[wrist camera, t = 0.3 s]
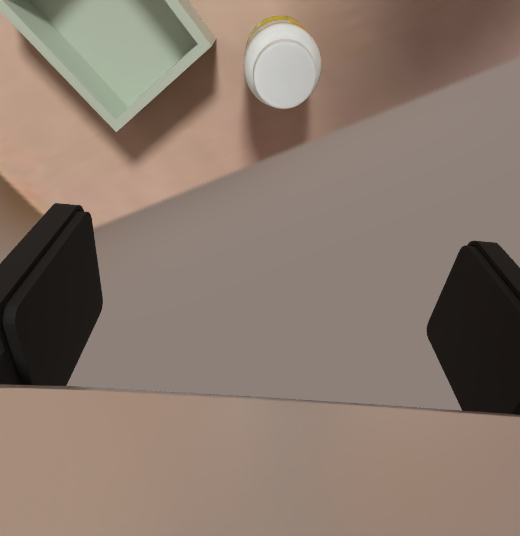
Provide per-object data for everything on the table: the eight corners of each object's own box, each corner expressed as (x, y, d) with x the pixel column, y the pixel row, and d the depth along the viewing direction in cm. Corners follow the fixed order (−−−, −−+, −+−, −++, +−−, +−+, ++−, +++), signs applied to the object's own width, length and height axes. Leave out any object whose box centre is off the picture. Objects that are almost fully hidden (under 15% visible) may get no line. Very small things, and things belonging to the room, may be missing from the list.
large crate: (101, -120, 29) (78, -134, 25) (216, 38, 34) (211, 45, 31) (12, -11, 32) (-20, -10, 29) (130, 116, 38) (116, 132, 34)
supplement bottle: (238, 24, 33) (232, 40, 26) (305, 6, 33) (320, 16, 25) (254, 94, 36) (253, 127, 29) (316, 79, 36) (332, 109, 28)
